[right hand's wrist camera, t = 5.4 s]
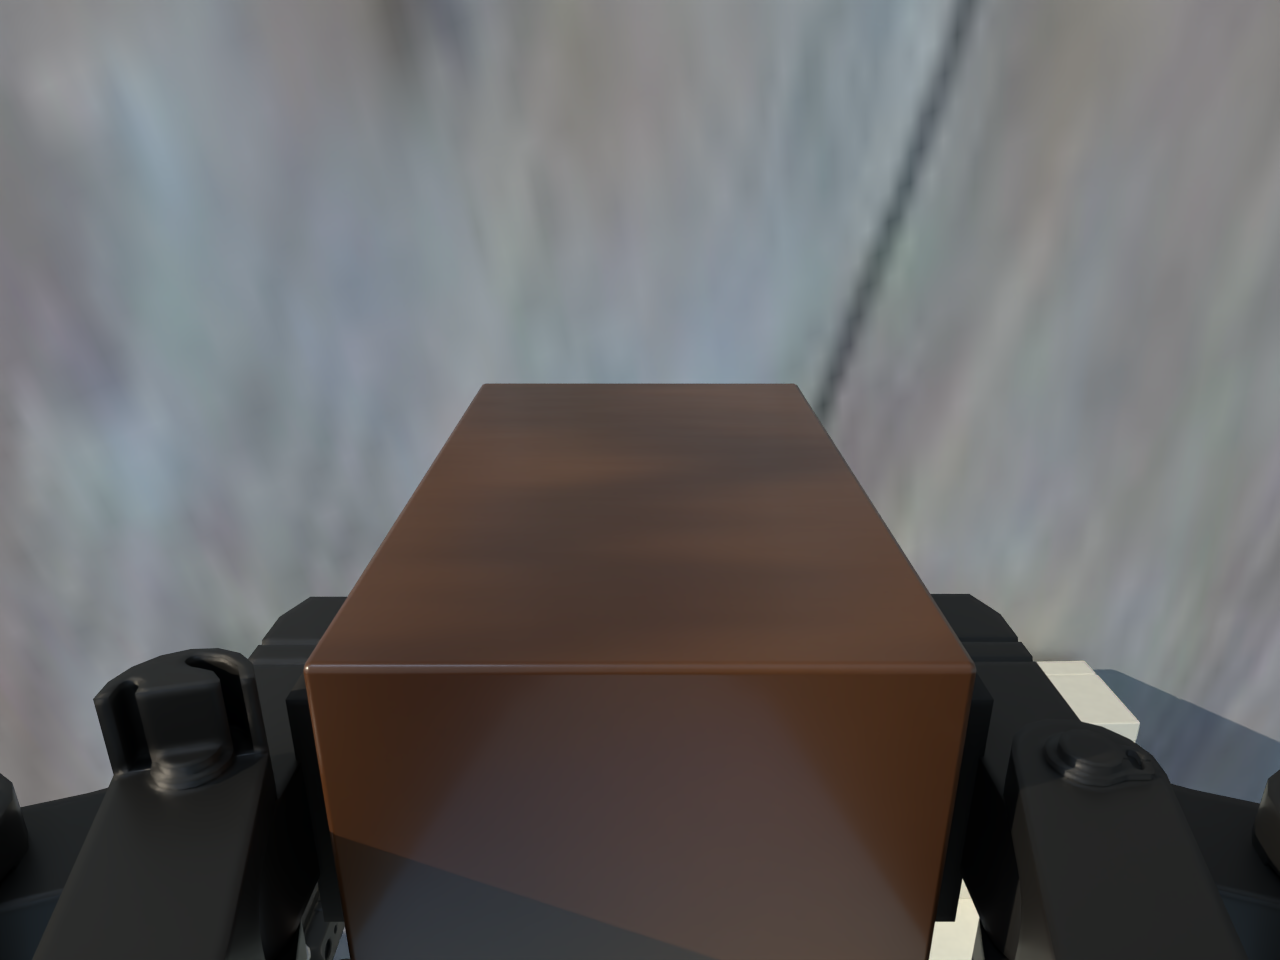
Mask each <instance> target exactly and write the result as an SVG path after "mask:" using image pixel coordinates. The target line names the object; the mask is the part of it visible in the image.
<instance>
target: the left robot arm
mask: <svg viewBox="0 0 1280 960" xmlns="http://www.w3.org/2000/svg"><path fill="white" fill-rule="evenodd" d="M301 922H302V927H303V932H304V938H305V944H306V951H307V960H333V958H334V955H335V952H336V949H337V946H338V944H339V939H340V938H341V935H342V932H343V930H344V927H345V923H344V922H324V917H323V911H322V905H321V900H320V894H319V888H318V883H317V884H316V886H315V888H314V890H313V893H312V895H311V897H310V900H309V902H308V904H307V907H306V909H305V911H304V914H303V916H302V918H301ZM341 960H351V959H341Z"/></svg>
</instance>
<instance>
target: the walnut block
mask: <svg viewBox="0 0 1280 960" xmlns="http://www.w3.org/2000/svg"><path fill="white" fill-rule="evenodd" d="M303 671H304V678H305V684H306V691H307V697H308V703H309V709H310V715H311V721H312V727H313V733H314V739H315V746H316V752H317V758H318V764H319V770H320V776H321V782H322V788H323V794H324V801H325V807H326V813H327V819H328V825H329V831H330V837H331V843H332V849H333V856H334V862H335V868H336V874H337V880H338V886H339V892H340V898H341V904H342V911H343V917H344V923H345V929H346V935H347V941H348V947H349V953H350V959H351V960H929V957H930V950H931V944H932V938H933V932H934V926H935V920H936V914H937V908H938V902H939V896H940V890H941V884H942V877H943V871H944V865H945V859H946V853H947V847H948V841H949V835H950V829H951V823H952V817H953V811H954V804H955V798H956V792H957V786H958V780H959V774H960V768H961V762H962V756H963V750H964V744H965V737H966V731H967V725H968V719H969V713H970V707H971V701H972V695H973V689H974V683H975V677H976V667H975V663H974V662H973V660H972V659H971V657H970V655H969V654H968V652H967V651H966V649H965V648H964V646H963V645H962V643H961V641H960V640H959V638H958V637H957V635H956V634H955V632H954V630H953V629H952V627H951V626H950V624H949V623H948V621H947V619H946V618H945V616H944V615H943V613H942V612H941V610H940V608H939V607H938V605H937V604H936V602H935V601H934V599H933V598H932V596H931V594H930V593H929V591H928V590H927V588H926V587H925V585H924V583H923V582H922V580H921V579H920V577H919V576H918V574H917V572H916V571H915V569H914V568H913V566H912V565H911V563H910V561H909V560H908V558H907V557H906V555H905V554H904V552H903V551H902V549H901V547H900V546H899V544H898V543H897V541H896V540H895V538H894V536H893V535H892V533H891V532H890V530H889V529H888V527H887V525H886V524H885V522H884V521H883V519H882V518H881V516H880V514H879V513H878V511H877V510H876V508H875V507H874V505H873V504H872V502H871V500H870V499H869V497H868V496H867V494H866V493H865V491H864V489H863V488H862V486H861V485H860V483H859V482H858V480H857V478H856V477H855V475H854V474H853V472H852V471H851V469H850V468H849V466H848V464H847V463H846V461H845V460H844V458H843V457H842V455H841V453H840V452H839V450H838V449H837V447H836V446H835V444H834V442H833V441H832V439H831V438H830V436H829V435H828V433H827V431H826V430H825V428H824V427H823V425H822V424H821V422H820V421H819V419H818V417H817V416H816V414H815V413H814V411H813V410H812V408H811V406H810V405H809V403H808V402H807V400H806V399H805V397H804V395H803V394H802V392H801V391H800V389H799V388H798V386H797V385H795V384H484V385H482V387H481V388H480V390H479V391H478V393H477V395H476V396H475V398H474V399H473V401H472V402H471V404H470V406H469V407H468V409H467V410H466V412H465V413H464V415H463V416H462V418H461V420H460V421H459V423H458V424H457V426H456V427H455V429H454V431H453V432H452V434H451V435H450V437H449V438H448V440H447V442H446V443H445V445H444V446H443V448H442V449H441V451H440V453H439V454H438V456H437V457H436V459H435V460H434V462H433V464H432V465H431V467H430V468H429V470H428V471H427V473H426V475H425V476H424V478H423V479H422V481H421V482H420V484H419V486H418V487H417V489H416V490H415V492H414V493H413V495H412V497H411V498H410V500H409V501H408V503H407V504H406V506H405V508H404V509H403V511H402V512H401V514H400V515H399V517H398V518H397V520H396V522H395V523H394V525H393V526H392V528H391V529H390V531H389V533H388V534H387V536H386V537H385V539H384V540H383V542H382V544H381V545H380V547H379V548H378V550H377V551H376V553H375V555H374V556H373V558H372V559H371V561H370V562H369V564H368V566H367V567H366V569H365V570H364V572H363V573H362V575H361V577H360V578H359V580H358V581H357V583H356V584H355V586H354V588H353V589H352V591H351V592H350V594H349V595H348V597H347V599H346V600H345V602H344V603H343V605H342V606H341V608H340V609H339V611H338V613H337V614H336V616H335V617H334V619H333V620H332V622H331V624H330V625H329V627H328V628H327V630H326V631H325V633H324V635H323V636H322V638H321V639H320V641H319V642H318V644H317V646H316V647H315V649H314V650H313V652H312V653H311V655H310V657H309V658H308V660H307V661H306V663H305V666H304V669H303Z"/></svg>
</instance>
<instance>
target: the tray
mask: <svg viewBox="0 0 1280 960" xmlns="http://www.w3.org/2000/svg"><path fill="white" fill-rule="evenodd" d="M1037 663H1038V665H1039V666H1040V667H1041V669H1042V670H1043V671H1044V673H1045V674H1046V675H1047V677H1048V678H1049V679H1050V681H1051V682H1052V683H1053V685H1054V686H1055V687H1056V689H1057V690H1058V691H1059V693H1060V694H1061V695H1062V697H1063V698H1064V699H1065V701H1066V702H1067V703H1068V704H1069V706H1070V707H1071V708H1072V710H1073V711H1074V712H1075V714H1076V715H1077V716H1078V718H1079V719H1080V720H1081V721H1082V722H1086V723H1090V724H1094V725H1098V726H1102V727H1104V728H1107V729H1109V730H1111V731H1113V732H1116V733H1118V734H1120V735H1122V736H1124V737H1127V738H1129V739H1131V740H1132V741H1133V742H1135V743H1136V740H1137V736H1138V731H1139V727H1140V722H1139V721H1138V719H1137V718H1136V717H1135V716H1134V715H1133V714H1132V713H1131V712H1130V710H1129V709H1128V708H1127V707H1126V706H1125V705H1124V704H1123V703H1122V701H1121V700H1120V699H1119V698H1118V697H1117V696H1116V695H1115V694H1114V692H1113V691H1112V690H1111V689H1110V688H1109V687H1108V686H1107V684H1106V683H1105V682H1104V681H1103V680H1102V679H1101V678H1100V677H1099V675H1096V673H1095V672H1094V670H1093V669H1092V668H1091V667H1090V666H1089V665H1088V664H1087V663H1086V662H1085V661H1041V662H1037ZM978 922H979V915H978V913H977V911H976V908H975V906H974V904H973V901H972V899H971V897H970V894H969V892H968V890H967V888H966V885H965V883H964V881H963V879H962V885H961V890H960V896H959V902H958V907H957V913H956V919H955V922H935V926H934V932H933V938H932V944H931V950H930V957H929V960H971V959H972V953H973V948H974V943H975V937H976V932H977V927H978Z"/></svg>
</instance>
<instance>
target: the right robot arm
mask: <svg viewBox="0 0 1280 960" xmlns="http://www.w3.org/2000/svg"><path fill="white" fill-rule="evenodd" d="M931 596H932V598H933V599H934V601H935V602H936V604H937V605H938V607H939V608H940V610H941V612H942V613H943V615H944V616H945V618H946V619H947V621H948V623H949V624H950V626H951V627H952V629H953V630H954V632H955V634H956V635H957V637H958V638H959V640H960V641H961V643H962V645H963V646H964V648H965V649H966V651H967V652H968V654H969V655H970V657H971V659H972V660H973V662H974V663H975V667H976V677H975V683H974V689H973V695H972V701H971V707H970V713H969V719H968V725H967V731H966V737H965V744H964V750H963V756H962V762H961V768H960V774H959V780H958V786H957V792H956V798H955V804H954V811H953V817H952V823H951V829H950V835H949V841H948V847H947V853H946V859H945V865H944V871H943V877H942V884H941V890H940V896H939V902H938V908H937V914H936V920H935V922H955V919H956V913H957V907H958V902H959V896H960V890H961V885H962V879H963V881H964V883H965V885H966V888H967V890H968V892H969V894H970V897H971V899H972V901H973V904H974V906H975V908H976V911H977V913H978V915H979V922H978V927H977V932H976V937H975V943H974V948H973V953H972V959H971V960H1280V770H1279V771H1277V772H1276V773H1275V774H1274V775H1272V776H1271V777H1270V778H1269V779H1268V781H1267V784H1266V787H1265V790H1264V793H1263V797H1262V800H1261V803H1260V804H1259V803H1254V802H1250V801H1245V800H1240V799H1235V798H1230V797H1226V796H1221V795H1216V794H1211V793H1206V792H1202V791H1197V790H1192V789H1188V788H1185V787H1181V786H1177V785H1174V784H1171V783H1170V781H1169V779H1168V777H1167V774H1166V773H1165V772H1164V770H1163V769H1162V768H1161V766H1160V765H1159V764H1158V762H1157V761H1156V760H1155V758H1154V757H1153V756H1152V755H1151V754H1150V753H1148V752H1147V751H1146V750H1144V749H1143V748H1142V747H1140V746H1139V745H1137V744H1136V743H1135V742H1133V741H1132V740H1131V739H1129V738H1127V737H1124V736H1122V735H1120V734H1118V733H1116V732H1113V731H1111V730H1109V729H1107V728H1104V727H1102V726H1098V725H1094V724H1090V723H1086V722H1082V721H1081V720H1080V719H1079V718H1078V716H1077V715H1076V714H1075V712H1074V711H1073V710H1072V708H1071V707H1070V706H1069V704H1068V703H1067V702H1066V701H1065V699H1064V698H1063V697H1062V695H1061V694H1060V693H1059V691H1058V690H1057V689H1056V687H1055V686H1054V685H1053V683H1052V682H1051V681H1050V679H1049V678H1048V677H1047V675H1046V674H1045V673H1044V671H1043V670H1042V669H1041V667H1040V666H1039V665H1038V663H1037V662H1033V660H1032V655H1031V654H1030V653H1029V652H1028V650H1027V649H1026V648H1025V646H1024V645H1023V644H1022V642H1018V637H1017V636H1016V634H1015V633H1014V632H1013V630H1012V629H1011V628H1010V626H1009V625H1008V624H1007V622H1006V621H1005V620H1004V618H1003V617H1002V616H1001V614H999V613H998V612H996V611H995V610H993V609H992V608H990V607H989V606H987V605H985V604H984V603H982V602H981V601H979V600H978V599H976V598H975V597H973V596H972V595H970V594H931ZM346 599H347V597H309V598H308V599H306V600H305V601H303V602H302V603H300V604H299V605H297V606H296V607H294V608H293V609H291V610H290V611H288V612H286V613H285V614H283V615H282V616H280V617H279V618H278V620H277V621H276V622H275V624H274V625H273V626H272V628H271V629H270V630H269V632H268V633H267V634H266V636H265V637H264V638H263V640H262V645H258V646H257V648H256V649H255V650H254V652H253V653H252V654H251V656H250V657H249V658H248V659H247V658H246V657H244V656H243V655H242V654H240V653H237V652H233V651H228V650H224V649H219V648H212V649H189V650H185V651H180V652H175V653H171V654H166V655H161V656H159V657H156V658H154V659H151V660H148V661H146V662H143V663H141V664H138V665H136V666H133V667H131V668H130V669H128V670H126V671H125V672H123V673H122V674H120V675H119V676H117V677H115V678H114V679H112V680H111V681H109V682H108V683H107V684H106V685H105V686H104V687H103V689H102V690H101V691H100V692H99V693H98V694H97V695H96V696H95V698H94V699H93V700H94V704H95V708H96V711H97V715H98V719H99V722H100V726H101V730H102V734H103V737H104V741H105V745H106V748H107V752H108V756H109V759H110V763H111V767H112V770H113V774H114V776H113V778H112V780H111V783H110V785H109V787H108V788H105V789H102V790H98V791H94V792H91V793H87V794H82V795H77V796H73V797H68V798H63V799H58V800H54V801H49V802H44V803H39V804H34V805H30V806H25V807H20V805H19V802H18V799H17V796H16V793H15V790H14V787H13V784H12V782H11V781H9V780H8V779H7V778H6V777H4V776H3V775H2V774H0V960H307V951H306V944H305V938H304V932H303V927H302V922H301V918H302V916H303V914H304V911H305V909H306V907H307V904H308V902H309V900H310V897H311V895H312V893H313V890H314V888H315V886H316V884H317V883H318V888H319V894H320V900H321V905H322V911H323V917H324V922H344V917H343V911H342V904H341V898H340V892H339V886H338V880H337V874H336V868H335V862H334V856H333V849H332V843H331V837H330V831H329V825H328V819H327V813H326V807H325V801H324V794H323V788H322V782H321V776H320V770H319V764H318V758H317V752H316V746H315V739H314V733H313V727H312V721H311V715H310V709H309V703H308V697H307V691H306V684H305V678H304V671H303V669H304V666H305V663H306V661H307V660H308V658H309V657H310V655H311V653H312V652H313V650H314V649H315V647H316V646H317V644H318V642H319V641H320V639H321V638H322V636H323V635H324V633H325V631H326V630H327V628H328V627H329V625H330V624H331V622H332V620H333V619H334V617H335V616H336V614H337V613H338V611H339V609H340V608H341V606H342V605H343V603H344V602H345V600H346Z"/></svg>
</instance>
